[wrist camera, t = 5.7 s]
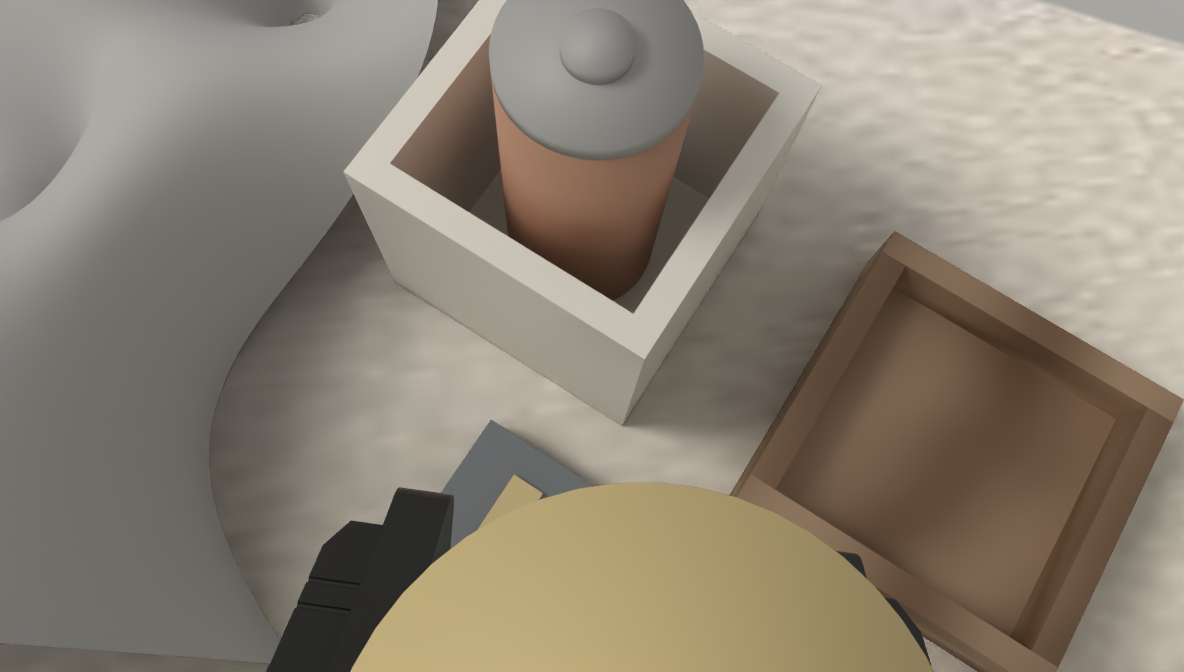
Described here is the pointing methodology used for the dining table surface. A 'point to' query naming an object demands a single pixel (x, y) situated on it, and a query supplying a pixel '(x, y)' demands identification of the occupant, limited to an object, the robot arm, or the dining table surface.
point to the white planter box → (526, 280)
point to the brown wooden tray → (963, 457)
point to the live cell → (641, 594)
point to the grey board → (502, 480)
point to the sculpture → (158, 285)
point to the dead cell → (592, 127)
